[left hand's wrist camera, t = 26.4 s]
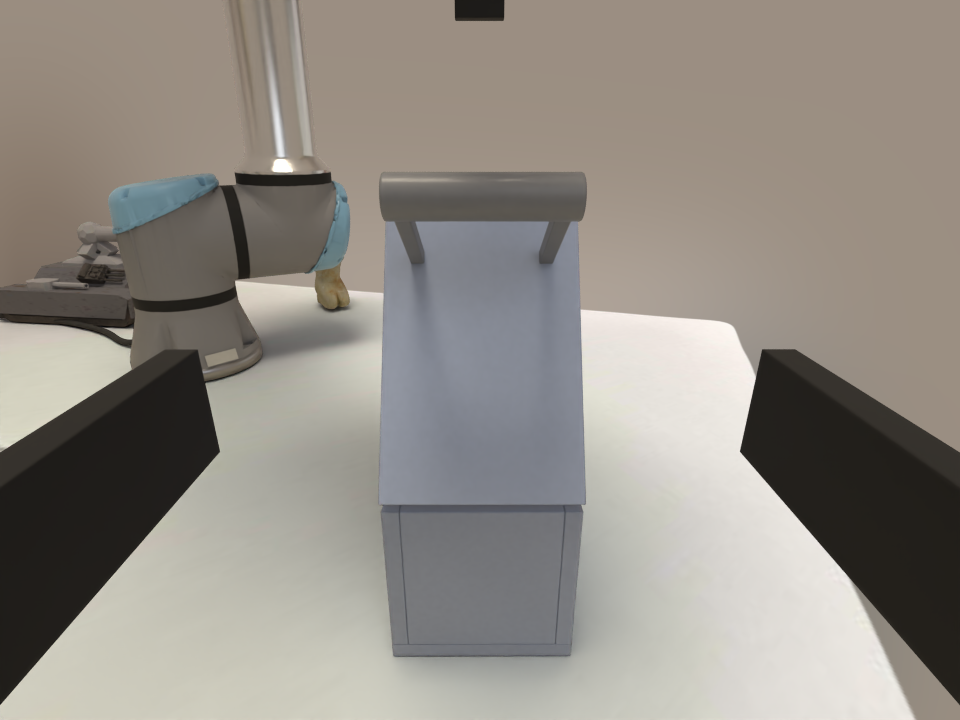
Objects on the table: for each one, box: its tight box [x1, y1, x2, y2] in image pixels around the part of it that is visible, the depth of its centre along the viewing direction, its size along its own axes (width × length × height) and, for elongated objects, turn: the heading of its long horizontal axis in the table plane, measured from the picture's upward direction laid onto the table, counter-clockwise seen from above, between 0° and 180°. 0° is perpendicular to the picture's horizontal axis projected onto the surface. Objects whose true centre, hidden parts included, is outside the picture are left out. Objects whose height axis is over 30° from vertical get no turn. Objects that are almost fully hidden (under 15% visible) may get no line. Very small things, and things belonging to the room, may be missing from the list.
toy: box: [0, 222, 135, 327], centre depth 90 cm, size 25×20×15 cm
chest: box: [381, 505, 583, 656], centre depth 33 cm, size 14×10×10 cm
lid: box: [378, 172, 587, 505], centre depth 22 cm, size 14×10×8 cm
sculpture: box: [315, 257, 350, 309], centre depth 91 cm, size 6×7×15 cm
